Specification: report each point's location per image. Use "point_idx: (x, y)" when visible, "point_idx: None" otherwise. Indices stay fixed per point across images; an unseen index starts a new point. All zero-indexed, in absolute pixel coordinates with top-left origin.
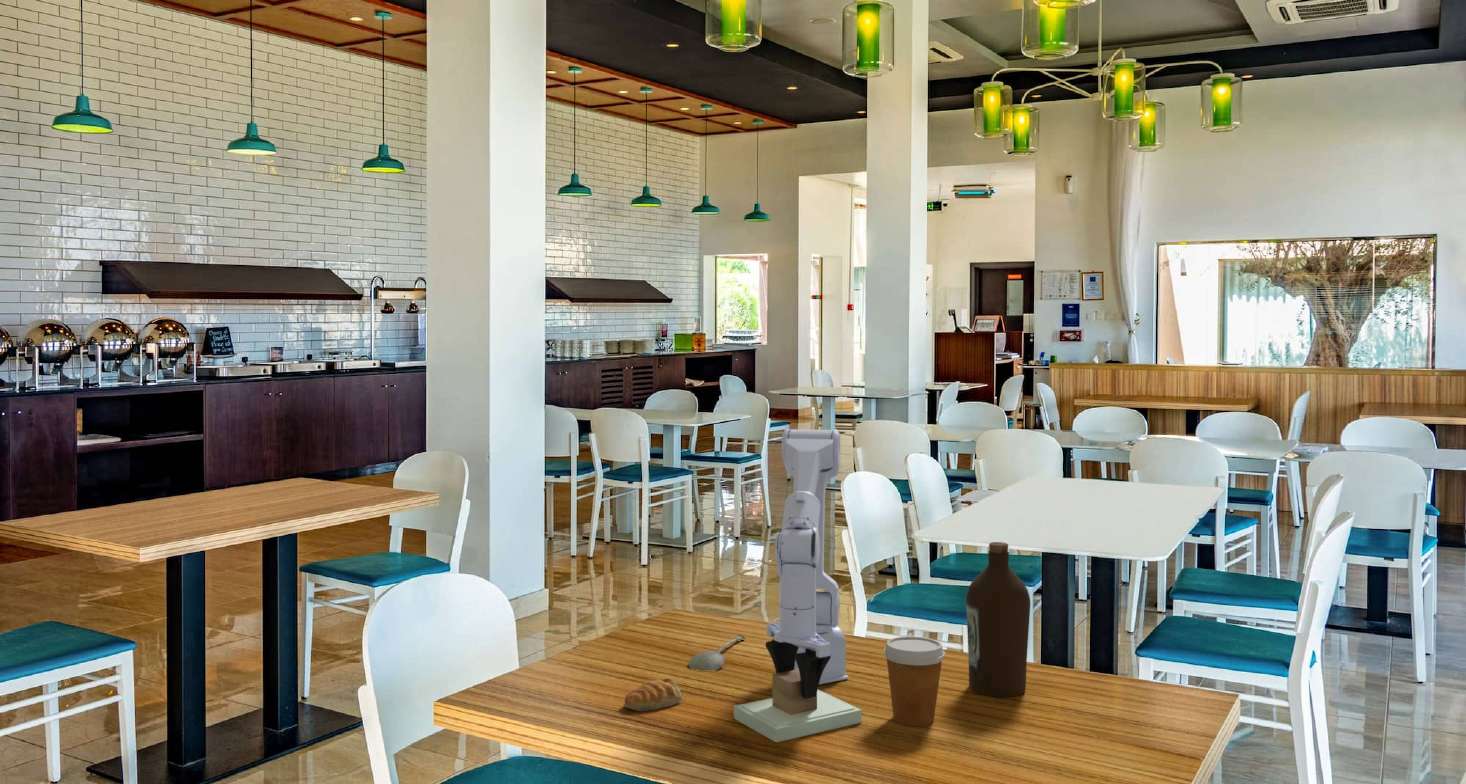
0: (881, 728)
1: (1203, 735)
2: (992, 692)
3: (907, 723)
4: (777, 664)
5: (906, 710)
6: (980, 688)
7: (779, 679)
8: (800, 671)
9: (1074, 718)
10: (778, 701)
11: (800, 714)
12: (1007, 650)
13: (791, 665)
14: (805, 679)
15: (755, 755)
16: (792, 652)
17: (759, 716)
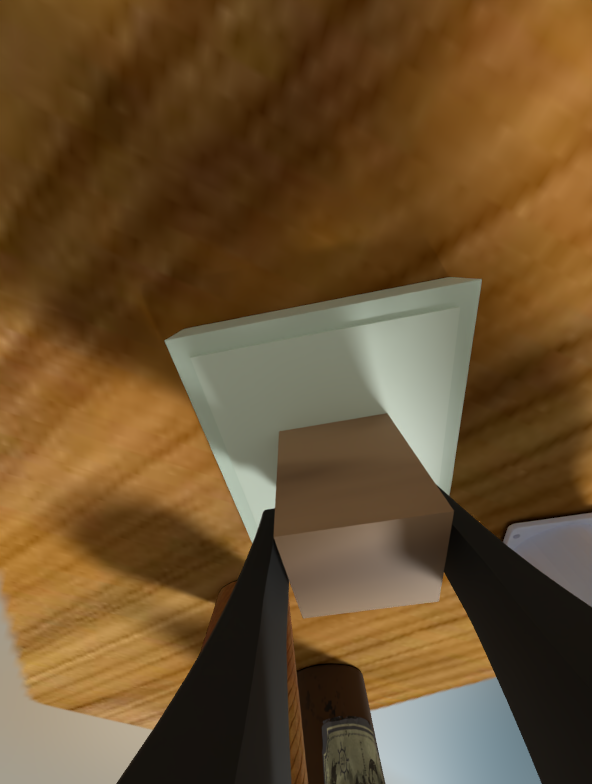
0: (225, 553)
1: (132, 723)
2: (301, 678)
3: (226, 587)
4: (500, 583)
5: (218, 618)
6: (316, 677)
7: (378, 511)
8: (242, 646)
9: None
10: (355, 434)
11: (272, 457)
12: None
13: (470, 606)
14: (230, 602)
15: (66, 202)
16: (523, 711)
17: (314, 333)
